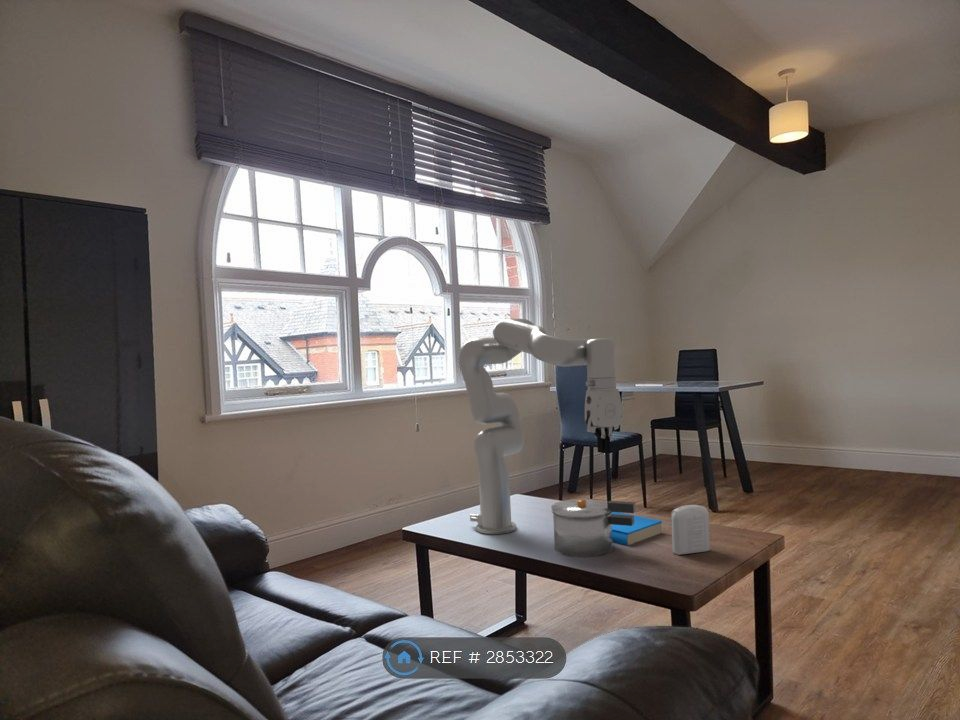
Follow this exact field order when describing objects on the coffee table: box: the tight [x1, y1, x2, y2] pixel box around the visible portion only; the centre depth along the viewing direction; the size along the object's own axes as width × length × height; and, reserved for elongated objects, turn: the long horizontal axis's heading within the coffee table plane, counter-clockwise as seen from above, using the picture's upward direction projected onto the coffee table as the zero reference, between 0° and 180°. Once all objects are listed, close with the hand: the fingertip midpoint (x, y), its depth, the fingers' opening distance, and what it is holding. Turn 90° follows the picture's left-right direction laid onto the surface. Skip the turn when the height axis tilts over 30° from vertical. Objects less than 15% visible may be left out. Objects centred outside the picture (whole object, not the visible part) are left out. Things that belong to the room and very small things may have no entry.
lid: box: [551, 498, 636, 519], centre depth 176 cm, size 23×17×3 cm
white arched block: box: [670, 504, 711, 556], centre depth 170 cm, size 10×4×12 cm, turn 106°
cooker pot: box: [552, 513, 634, 558], centre depth 176 cm, size 22×16×10 cm
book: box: [612, 512, 663, 546], centre depth 192 cm, size 17×4×25 cm
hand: (604, 452), depth 171 cm, fingers closed
